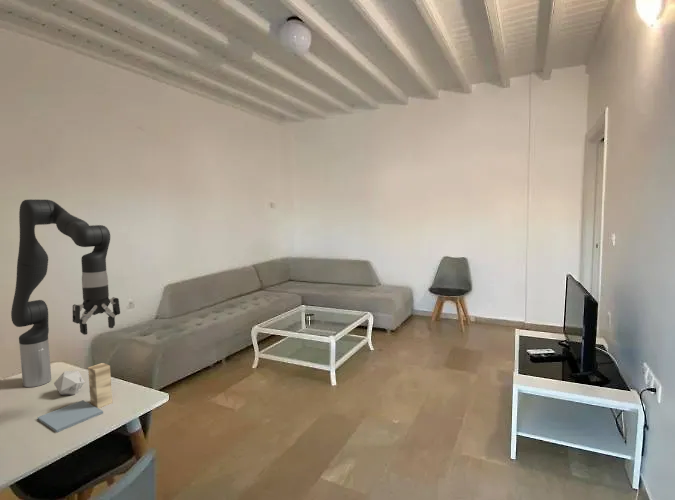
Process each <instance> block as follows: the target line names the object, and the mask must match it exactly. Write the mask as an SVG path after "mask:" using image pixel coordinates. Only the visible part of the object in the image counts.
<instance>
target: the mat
mask: <svg viewBox="0 0 675 500" xmlns="http://www.w3.org/2000/svg"><path fill="white" fill-rule="evenodd" d="M102 414H104V411H103V410H102V409H101V408H99V409H98V408H97V407H95V406H93V405H91V403H89V402H87V401H85V400H80V401H77V402H74V403H72V404H68V405H66V406H64V407H61V408H59V409H56V410H53V411H50V412H48V413H45V414H42V415H39V416H37V421H39V422H41V423H42V424H44V425H45V426H47V427H48V428H49V429H51V430H52V431H54V432H55V433H59V432H61V431H64V430H66V429H68V428H71V427H73V426H76V425H78V424H80V423H83V422H85V421H89V419H90V420H91V419H92V418H95V417H98V416H99V415H102Z"/></svg>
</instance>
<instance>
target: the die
mask: <svg viewBox="0 0 675 500" xmlns="http://www.w3.org/2000/svg"><path fill="white" fill-rule="evenodd" d="M85 383H86V381H85V380H84V378H83V376H82V374H81V373H80V371H79V370H64V371H63V372H62V373H61V374H60V376H59V377H58V378H57V379H56V380H55V381H54V382H53V384H54V386H55V388H56V389H57V392H58V393H59V394H60V395H62V396H69V395H70V396H71V395H73V396H74V395H76V394H77V393H78V392H79V390H80V389H81V388H82V387H83V386H84V384H85Z"/></svg>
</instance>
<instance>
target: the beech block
mask: <svg viewBox="0 0 675 500" xmlns="http://www.w3.org/2000/svg"><path fill="white" fill-rule="evenodd" d="M87 369H88V384H89V385H88V386H89V397H90V398H89V401H90V404H91V405H93V406H95V407H97V408H98V409H102V408H105V407H106V406H109V405H112V404H113V394H112V393H113V392H112V391H113V390H112V377H111V375H112V374H111V365H109V364H107V363H104V362H101V363H98V364H95V365H92V366H88V367H87Z"/></svg>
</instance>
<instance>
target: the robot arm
mask: <svg viewBox="0 0 675 500" xmlns="http://www.w3.org/2000/svg"><path fill="white" fill-rule="evenodd" d="M18 215H19V216H18V217H19V220H18V221H19V243H18V244H19V245H18V256H17V261H16V277H15V278H16V279H15V289H14V295H13V299H12V304H11V305H12V306H11V311H10V313H11V314H10V315H11V322H12V324H13V325H14V326H15V327H17V328H22V327H28V326H31V328H30V329H28V330H27V331H25V332H23V333H22V334H20V335H19V337H18V343H19V344H18V345H19V353H20V354H19V356H20V366H21V367H20V368H21V378H22V379H21V380H22V386H23V387H25V388H33V387H39V386H42V385H46V384H48V383H49V382H51V381H52V368H51V356H50V354H51V353H50V343H49V331H50V329H49V308H48V305H47V303H46V301H44V300H43V299H37V300H30V297H31V295H32V293H33V292H34V291H35V289H37V287H38V286H39V285H40V284H41V282H42V281H44V278H46V275H47V273H48V265H49V255H48V254H47V251H46V250H45V248H44V247H43V246H42V245H41V244H40V242H39V241H38V239H37V237H36V231H35V230H36V226H40V225H43V226H46V225H52V224H53V225H56V229H57V230H58V231H59V232H60V233H62V234H63V235H64V236H66V237H69V238H71V241H73V242H74V244H75V245H76V246H78V247H81V248H89V247H93V249H92V251H90V252H88V253H85V254H83V255H82V256H81V258H80V259H81V273H82V274H81V287H82V288H81V289H82V301H83V302H82V303H81V304H73V305H72V322H73V323H74V324H79V330H80V331H79V332H80V333H81V334H82V335H84V336H85V335H88V324H87V322H88V320H89V319H91V318H92V316H95V315H98V314H104V313H105V314H106V315H107V316H108V317H107V322H108V323H107V325H108V328H109V329H113V328H114V327H115V325H116V322H115V321H116V319H115V317H116V316H119V315H120V314H121V307H120V301H119V298H118V297H114V296H113V297H112V298H110V297H109V296H110V292H109V278H108V272H107V255H108V250H109V247H110V243H111V231H110V230H109V228H108V227H107V226H105V225H102V224H101V225H100V224H99V225H98V224H95V225H90V224H89V223H88V222H87V221H85V220H83V219H81V218H79V217H77V216H75V215H72V214H70V213H69V212H68V211H67V210H66V209H65V208H64V207H62V206H61V205H59V204H58V203H57V202H55V201H54V200H50V199H24V200H22V202H21V203H20V206H19V213H18ZM110 304H111V306H112V310H111V309H110V308H109V306H110ZM83 309H84V311H83V313H82V314H81V311H82V310H83Z"/></svg>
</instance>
